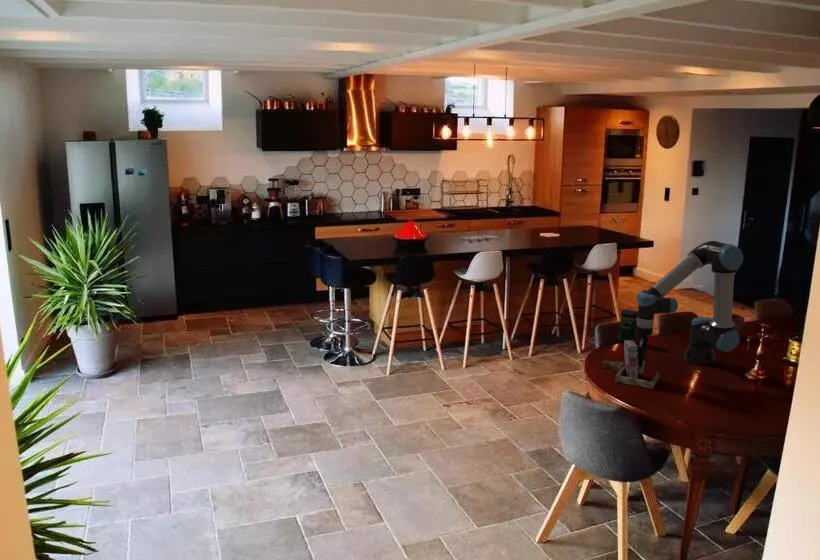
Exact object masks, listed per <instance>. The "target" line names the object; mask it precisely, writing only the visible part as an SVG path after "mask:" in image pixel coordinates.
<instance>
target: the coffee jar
mask: <svg viewBox="0 0 820 560" xmlns="http://www.w3.org/2000/svg"><path fill="white" fill-rule="evenodd" d="M636 318H638V310H633V309H626V308H624V309H622V310H621V311H620V327H619V332H618V333H619V334H618V342H621V343H624V341H626V340H634V342H635V343H637V339H638V338H637V337H638V336H637V335H638V334H637V333H636V327H637V326H638V325H637V320H636Z"/></svg>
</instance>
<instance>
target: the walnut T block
mask: <svg viewBox="0 0 820 560" xmlns="http://www.w3.org/2000/svg"><path fill="white" fill-rule="evenodd" d="M622 367H625V361H620V360H616V361H609V360H603V362H602V368H605V369H610V371H611V372H616V373H618V372H619V371H620V369H621V368H622Z"/></svg>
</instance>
